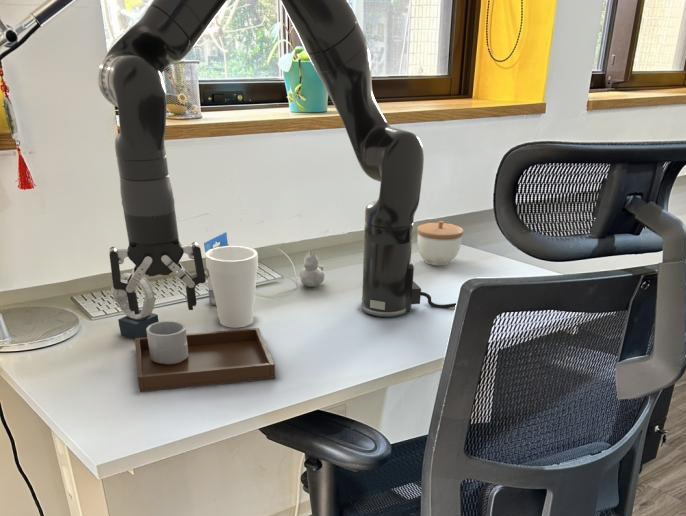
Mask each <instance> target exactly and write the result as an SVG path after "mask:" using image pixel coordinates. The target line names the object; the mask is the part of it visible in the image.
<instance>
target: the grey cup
mask: <svg viewBox="0 0 686 516" xmlns="http://www.w3.org/2000/svg"><path fill="white" fill-rule="evenodd" d="M146 331H147V338H148V345H149V351H150V358H151V360H153V361H154V362H157V363H159V364H164V365H171V364H177V363H180V362H182V361H183V360H185V359H186V358H187V357H188V356H189V353H188V344H187V336H186V334H187V327H186V325H185V324H184V323H182V322H180V321H175V320H161V321H159V322H156V323H153V324H151V325H149V326H148V327H147V328H146Z"/></svg>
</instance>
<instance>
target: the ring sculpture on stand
mask: <svg viewBox="0 0 686 516" xmlns="http://www.w3.org/2000/svg"><path fill="white" fill-rule="evenodd" d="M130 274H131V272H125V273H121V274H120V275H121V279H123V280H128V278H129V276H130ZM137 286H139V288H140V289H141V290H142V292H143V295H144V300H143V302H142V307H141V308H142V309H139V314H135V312H134V311H131V310H130V309H129V303H128V298H127V293H126V292H125V291H124V290H121V289H119V290H116V289H115V288H114V287H113V283H112V285H111V287H110V293H111V295H112V296H113V300H114V302H115V303H116V304H117V306H118V308H119V309H120V310H121V312H122V313H123V314H124V315H125V316H123V317H120V318H118V319H117V320H118V321H117V322H118V326H119V332H120V336H121V337H124V338H128V339H131V340H134V341H135V338H142V337H147V331H146V328H147V327H148V326H149V325H151V324H153V323H156V322H160V321H159V320H160V319H159V314H157V313H153V311H154V308H155V304H156V297H155V292H154V289H153V286H152V285H151V283H150V282H149V280H148V279H147V277H146V276H143V277H142V279H141V281H140V282H139V283H138V284H137Z"/></svg>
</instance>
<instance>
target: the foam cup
mask: <svg viewBox="0 0 686 516" xmlns="http://www.w3.org/2000/svg"><path fill="white" fill-rule="evenodd" d="M204 253H205V252H204ZM205 264H206V265H205V266H206V270H207V269H208V270H209V274H210V279H211V283H212V288H213V292H214V297H215V301H216V305H215V306H216V310H217V314H218V319H219V323H220V325H222V326H224V327H227V328H233V329H235V328H236V329H237V328H244V327H247V326H250V325H252V324H253V322H254V316H255V315H254V314H255V301H256V288H257V277H258V275H257V274H258V268H259V254H258V251H257V250H256V249H254V248H252V247H247V246H242V245H230V246H223V247H217V248H214V247H213V249H210V250H208V251H207V252H206V253H205Z"/></svg>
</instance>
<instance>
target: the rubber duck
mask: <svg viewBox="0 0 686 516" xmlns="http://www.w3.org/2000/svg"><path fill="white" fill-rule="evenodd" d="M299 278H300V283H301V284H302V285H304V286H305V287H309V288H312V287H316V286H319V285H320V284H322V283H323V282H324V281H325V272H324V265H323V264H320V262H319V257H318V256H317V255H316V253H312V250H311V249H309V251H308V252H306V255H305V257H304V259H303V267H302V268H301V269H300V271H299Z"/></svg>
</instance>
